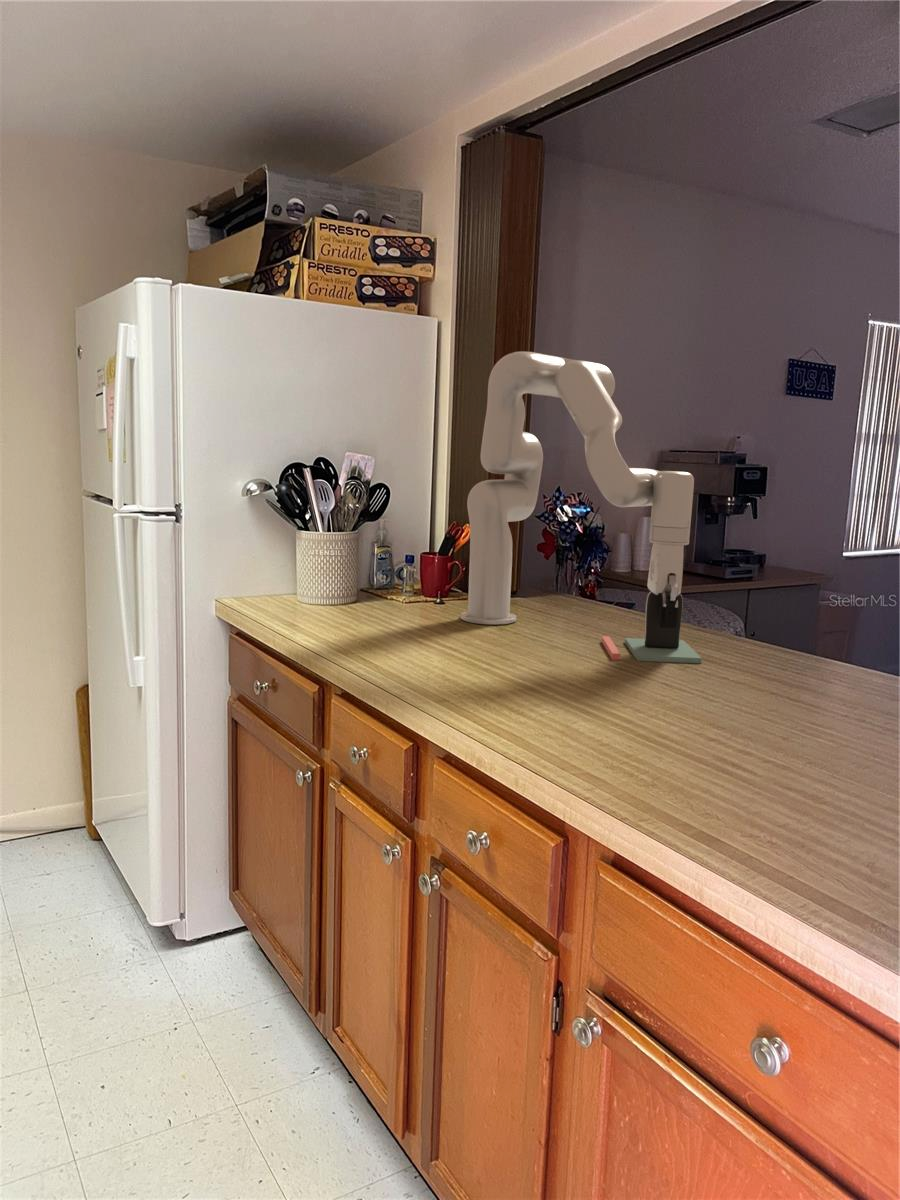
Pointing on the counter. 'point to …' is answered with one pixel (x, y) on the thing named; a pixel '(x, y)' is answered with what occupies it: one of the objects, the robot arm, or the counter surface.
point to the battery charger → (653, 631)
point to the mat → (662, 652)
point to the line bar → (610, 648)
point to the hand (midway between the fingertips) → (662, 622)
